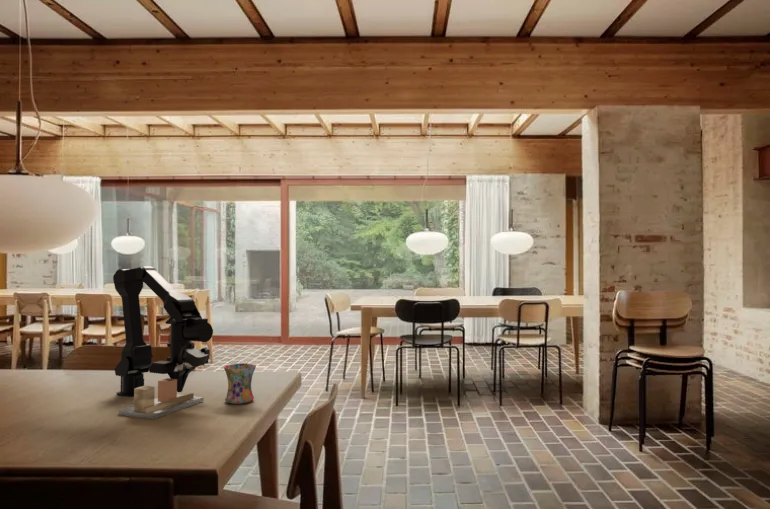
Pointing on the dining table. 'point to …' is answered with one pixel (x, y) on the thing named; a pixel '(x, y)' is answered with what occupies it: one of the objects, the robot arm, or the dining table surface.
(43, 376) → the dining table surface
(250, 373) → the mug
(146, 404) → the bar
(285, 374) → the dining table surface
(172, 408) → the flange plate
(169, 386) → the slide leg
